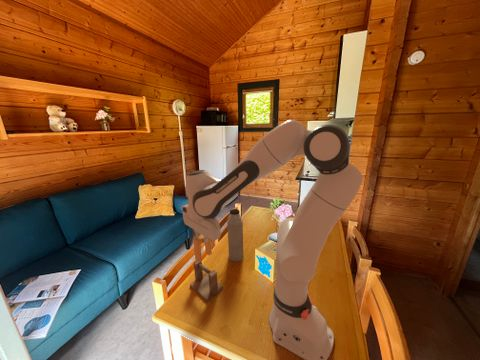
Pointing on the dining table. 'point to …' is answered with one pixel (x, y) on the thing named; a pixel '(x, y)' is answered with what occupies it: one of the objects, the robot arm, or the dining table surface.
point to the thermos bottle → (235, 235)
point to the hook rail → (205, 281)
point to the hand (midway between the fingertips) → (202, 240)
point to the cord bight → (197, 247)
